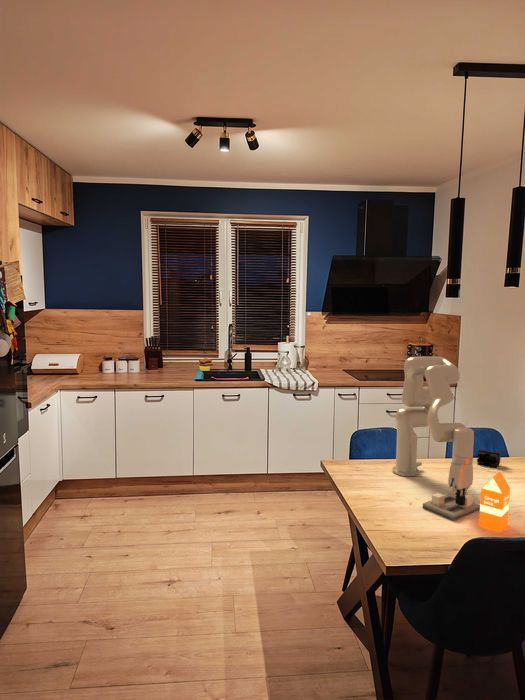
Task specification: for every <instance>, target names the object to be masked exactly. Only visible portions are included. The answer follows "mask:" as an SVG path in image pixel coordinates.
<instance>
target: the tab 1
mask: <svg viewBox="0 0 525 700" xmlns="http://www.w3.org/2000/svg"><path fill="white" fill-rule="evenodd" d="M444 497H445V494H442V493H439V492H436V493H433V494H432V495H431V500H432V504H433V505H436V506H441V505H444Z"/></svg>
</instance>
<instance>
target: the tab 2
mask: <svg viewBox="0 0 525 700" xmlns="http://www.w3.org/2000/svg"><path fill="white" fill-rule="evenodd" d="M473 497H474V496H473V495H470V494H468V493H466V495H465V505H463V506H461V505H460V507H463V508H467V507H469V506H472V502H473V501H474V498H473Z"/></svg>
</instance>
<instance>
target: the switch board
mask: <svg viewBox="0 0 525 700" xmlns="http://www.w3.org/2000/svg"><path fill="white" fill-rule="evenodd" d="M444 495H445V494H444ZM455 501H456V494H451V493H448V494H446V495H445V497H444V505H441V506H436V505H433V504H432V499H431V500H428V501H426V502H423V503H422V509H424V510H426V511H429V512H430V513H434V514H436V515H438V516H441V517H443V518H446V519H448V520H450V521H452V522H453V521H457V520H460V519H462V518H464V517H466V516H468V515H472V514H473V513H475V512H478V511H480V504H479V503H477V502H473V501H472V506H469V507H467V508H463V507H460V505H458V504H456V503H455Z"/></svg>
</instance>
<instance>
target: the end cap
mask: <svg viewBox="0 0 525 700" xmlns="http://www.w3.org/2000/svg"><path fill="white" fill-rule="evenodd" d="M476 456H477V459H476V462H477V466H481V467H487V468H490V469H491V468H492V469H497V468H498V467H499V466H500V463H501V459H502V458H501V453H500V452H499V453H498V452H492V451H488V450H482V449H478V453H477V454H476Z"/></svg>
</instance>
